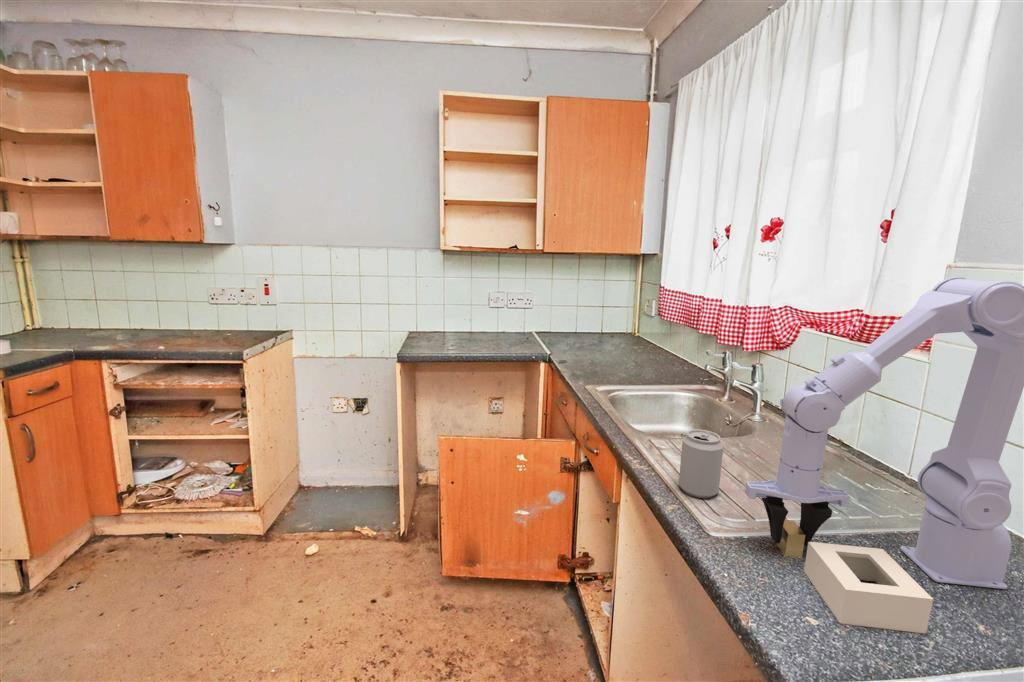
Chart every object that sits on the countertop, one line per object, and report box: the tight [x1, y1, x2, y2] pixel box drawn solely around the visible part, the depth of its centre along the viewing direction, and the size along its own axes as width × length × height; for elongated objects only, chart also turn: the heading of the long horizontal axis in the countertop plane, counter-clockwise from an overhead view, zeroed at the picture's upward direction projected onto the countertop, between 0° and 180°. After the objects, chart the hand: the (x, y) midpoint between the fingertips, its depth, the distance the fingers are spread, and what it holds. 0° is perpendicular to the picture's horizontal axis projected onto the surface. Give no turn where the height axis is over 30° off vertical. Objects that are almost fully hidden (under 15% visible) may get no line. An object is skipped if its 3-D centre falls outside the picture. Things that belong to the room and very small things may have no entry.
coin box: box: [803, 541, 934, 634], centre depth 64 cm, size 10×10×5 cm
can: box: [678, 428, 725, 499], centre depth 92 cm, size 8×8×12 cm
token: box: [776, 519, 805, 558], centre depth 75 cm, size 2×4×4 cm, turn 171°
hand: (789, 540), depth 75 cm, fingers open, 4 cm apart
